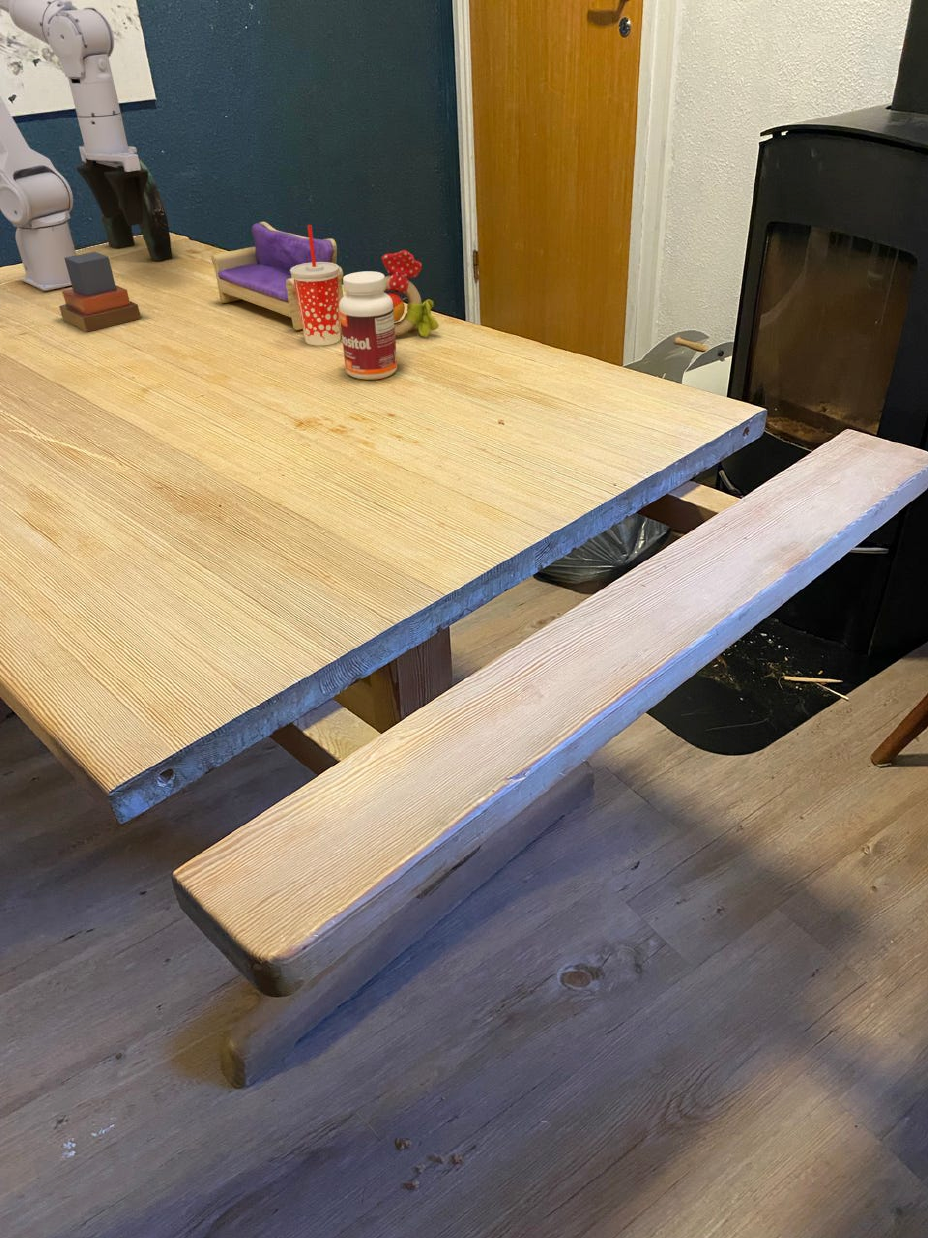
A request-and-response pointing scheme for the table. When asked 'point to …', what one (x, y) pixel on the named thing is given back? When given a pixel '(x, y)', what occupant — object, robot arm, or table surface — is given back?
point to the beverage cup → (318, 299)
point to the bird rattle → (407, 294)
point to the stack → (98, 309)
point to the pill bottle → (367, 326)
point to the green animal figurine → (151, 228)
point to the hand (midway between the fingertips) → (123, 220)
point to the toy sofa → (270, 270)
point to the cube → (90, 273)
